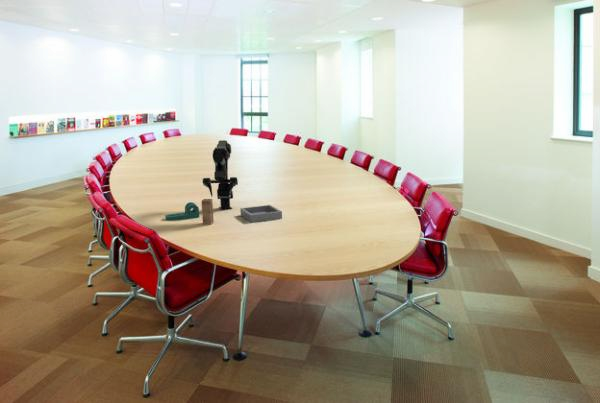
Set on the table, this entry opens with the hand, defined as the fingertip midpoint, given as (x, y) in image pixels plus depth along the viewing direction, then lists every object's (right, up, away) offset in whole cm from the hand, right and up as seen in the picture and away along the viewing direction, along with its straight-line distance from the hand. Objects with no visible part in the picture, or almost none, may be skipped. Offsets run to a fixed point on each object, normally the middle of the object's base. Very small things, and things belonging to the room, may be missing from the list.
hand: (220, 196), depth 262 cm
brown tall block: (-6, -14, -4) cm, 16 cm away
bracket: (-23, -12, +8) cm, 27 cm away
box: (+22, -11, +8) cm, 26 cm away
